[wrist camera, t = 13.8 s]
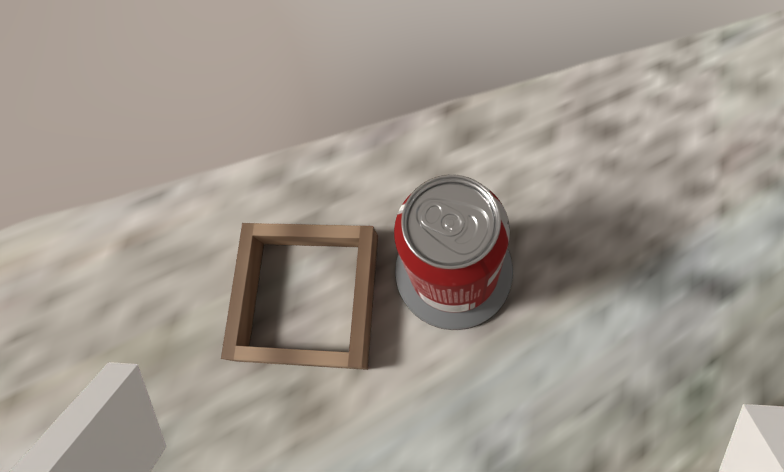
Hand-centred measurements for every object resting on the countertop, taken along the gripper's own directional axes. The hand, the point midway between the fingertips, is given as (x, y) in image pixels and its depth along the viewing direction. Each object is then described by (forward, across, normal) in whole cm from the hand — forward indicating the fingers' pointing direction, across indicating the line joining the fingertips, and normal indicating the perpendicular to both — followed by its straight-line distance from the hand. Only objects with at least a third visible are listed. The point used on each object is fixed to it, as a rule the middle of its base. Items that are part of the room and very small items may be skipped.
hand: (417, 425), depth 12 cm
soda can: (+26, 0, -12) cm, 29 cm away
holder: (+25, -12, -14) cm, 31 cm away
